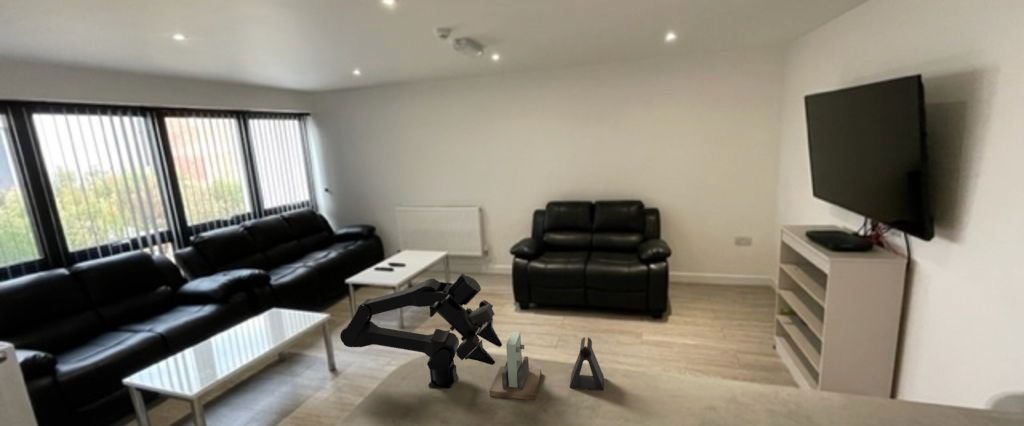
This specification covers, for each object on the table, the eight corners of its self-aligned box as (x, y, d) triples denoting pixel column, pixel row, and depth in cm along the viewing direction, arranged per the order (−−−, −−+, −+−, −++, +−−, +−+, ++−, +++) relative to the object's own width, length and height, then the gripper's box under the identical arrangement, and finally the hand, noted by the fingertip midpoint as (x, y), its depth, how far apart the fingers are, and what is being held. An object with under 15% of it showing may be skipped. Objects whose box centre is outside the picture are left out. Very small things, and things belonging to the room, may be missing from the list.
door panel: (508, 386, 114) (506, 344, 112) (514, 372, 121) (511, 331, 118) (521, 387, 113) (518, 344, 111) (526, 372, 120) (523, 332, 117)
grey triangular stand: (603, 377, 118) (603, 338, 116) (603, 390, 112) (602, 349, 110) (571, 375, 120) (570, 336, 118) (569, 388, 114) (568, 347, 112)
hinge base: (489, 395, 113) (488, 375, 112) (501, 370, 124) (499, 351, 123) (534, 400, 110) (533, 379, 109) (541, 373, 122) (540, 354, 120)
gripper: (465, 311, 105) (511, 354, 105) (483, 283, 123) (522, 320, 123) (437, 339, 108) (482, 381, 108) (459, 308, 126) (497, 344, 126)
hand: (497, 354), depth 116 cm, fingers open, 9 cm apart
